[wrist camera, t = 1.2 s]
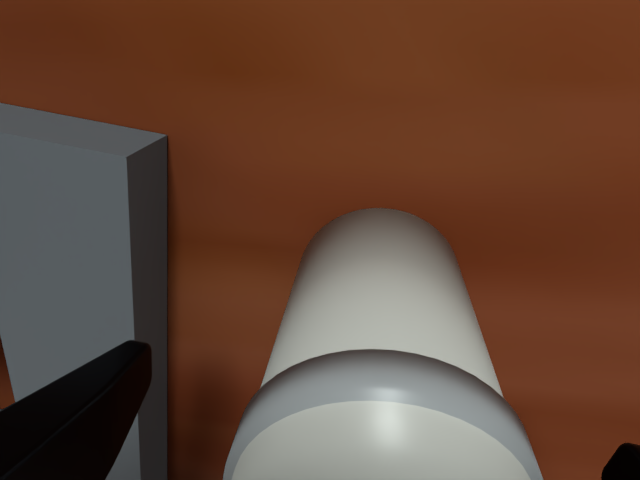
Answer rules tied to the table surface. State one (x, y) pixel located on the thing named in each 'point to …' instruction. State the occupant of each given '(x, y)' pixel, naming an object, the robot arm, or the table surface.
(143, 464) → the shaft mount
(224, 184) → the table surface
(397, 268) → the coupler
